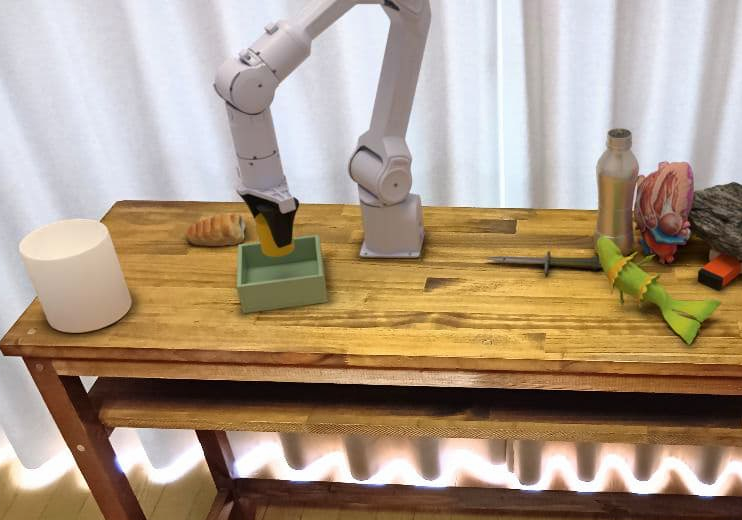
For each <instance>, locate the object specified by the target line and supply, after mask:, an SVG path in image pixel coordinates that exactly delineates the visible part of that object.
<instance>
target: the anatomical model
mask: <svg viewBox="0 0 742 520" xmlns="http://www.w3.org/2000/svg"><path fill="white" fill-rule="evenodd" d="M694 181H695V180H694V172H693V169H692V167H691V164H690V163H688V162H687V161H672V162H669V161H667V160H666V161H665V160H664V161H661V162H658V165H657V170H655V171H653V172H650V173H649V174H648V175H644V174H638V178H637V183H636V195H635V200H634V203H633V216H634V217H633V222H635V224H636V225H635V227H634V231H640V234H641V238H642V239H641V238H639V237H638V238H637V240H636V242H637V244H638V245H640V246H641V247H642V248H643V251H644V254H645V255H648V256H650V255H655V254H656V255H657V256H658V257H659V261H658V262H659V264H661V265H665V263H666V262H667V264H671V263H673V262H674V261H675V257H674V254H675V253H676V252H677V251H678V246H679V245H680V246H685V245H686V244H687V242H688V240H687V238H685V237H678V236H677V235H680V234H683V235H687V230H686V228H688V227H690V223H689V222H687V218H688V214H689V212H690V210H691V207H692V202H693V196H694V192H695V186H694V183H695V182H694ZM678 244H679V245H678Z"/></svg>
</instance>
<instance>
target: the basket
mask: <svg viewBox="0 0 742 520" xmlns="http://www.w3.org/2000/svg"><path fill="white" fill-rule="evenodd" d="M293 240H294V244H295V248H294V250H293V251H292V252H291V253H289V254H287V255H284V256H280V257H270V256H266V255H264V254H263V252H262V249H261V245H260V241H257V242H248V243H239V244H237V266H236V267H237V268H236V269H237V271H236V272H237V273H236V290H237V292H238V297H239V302H240V305H241V306H240V307H241V310H242V313H243V314H249V313H250V314H251V313H257V312H263V311H264V312H265V311H271V310H272V311H273V310H279V309H287V308H295V307H300V306H301V307H303V306H308V305H315V304H324V303H328V301H329V300H328V292H327V282H326V273H325V263H324V256H323V250H322V245H321V239H320V234H313V235H305V236H297V237H293Z"/></svg>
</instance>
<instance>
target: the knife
mask: <svg viewBox="0 0 742 520" xmlns="http://www.w3.org/2000/svg"><path fill="white" fill-rule="evenodd" d="M483 259H484V260H489V261H493V262H501V263H513V264H514V263H518V264H537V265H544V275H548V274H549V269H550V267H551V266H559V267H570V268H571V267H573V268H582V269H592V270H595V271H598V270H599V269H601V268H602V266H601V263H600V260H599V256H592V257H553V256H551V251H549V250H548V251H547V252H546V256H545V257H532V256H531V257H530V256H528V257H527V256H507V255H505V256H504V255H503V256H502V255H497V256H487V257H483Z"/></svg>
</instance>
